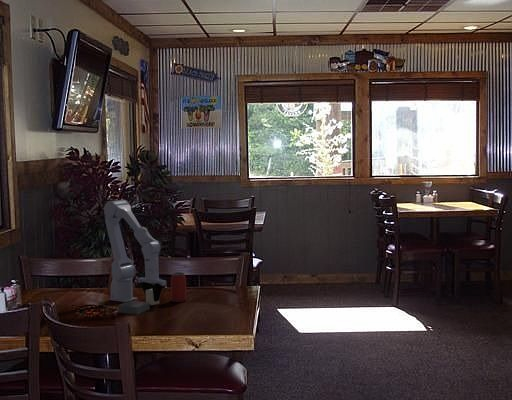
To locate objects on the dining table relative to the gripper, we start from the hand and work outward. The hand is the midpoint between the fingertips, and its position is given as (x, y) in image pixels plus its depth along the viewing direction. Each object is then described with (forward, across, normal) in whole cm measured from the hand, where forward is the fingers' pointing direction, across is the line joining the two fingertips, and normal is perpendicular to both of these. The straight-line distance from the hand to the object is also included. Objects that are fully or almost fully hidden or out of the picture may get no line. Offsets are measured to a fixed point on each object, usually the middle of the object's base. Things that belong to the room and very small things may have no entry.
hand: (152, 300), depth 291 cm
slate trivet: (+1, +3, -14) cm, 14 cm away
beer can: (+2, +6, +10) cm, 12 cm away
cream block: (+1, 0, 0) cm, 1 cm away
